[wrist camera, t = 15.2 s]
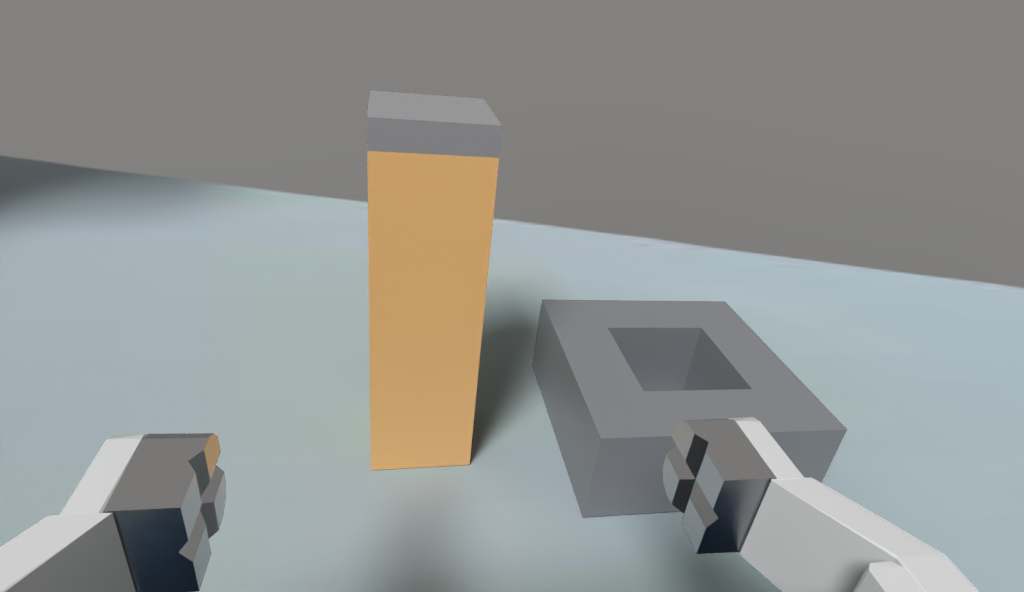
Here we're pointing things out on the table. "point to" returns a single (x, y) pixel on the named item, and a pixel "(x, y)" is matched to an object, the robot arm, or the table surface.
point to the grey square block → (662, 393)
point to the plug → (427, 272)
